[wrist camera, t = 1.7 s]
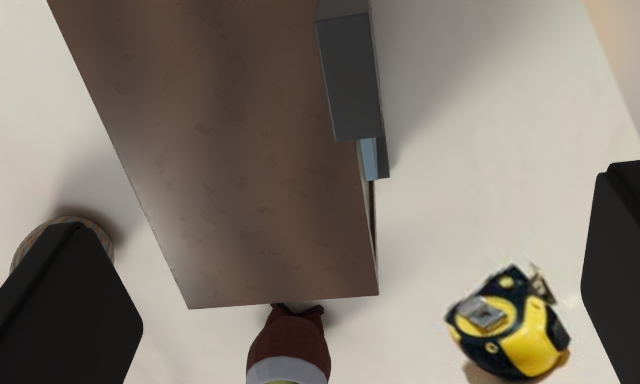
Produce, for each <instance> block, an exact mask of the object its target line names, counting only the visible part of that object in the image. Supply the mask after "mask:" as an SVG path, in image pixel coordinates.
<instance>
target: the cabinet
mask: <svg viewBox="0 0 640 384" xmlns="http://www.w3.org/2000/svg"><path fill="white" fill-rule="evenodd" d="M47 3H48V5H49V7H50V9H51V11H52V13H53V16H54V18H55V20H56V22H57V24H58V26H59V29H60V31H61V33H62V35H63V37H64V40H65V42H66V44H67V46H68V48H69V50H70V53H71V55H72V57H73V59H74V61H75V63H76V66H77V68H78V70H79V72H80V74H81V76H82V79H83V81H84V83H85V85H86V87H87V90H88V92H89V94H90V96H91V98H92V100H93V103H94V105H95V107H96V109H97V111H98V113H99V116H100V118H101V120H102V122H103V124H104V126H105V129H106V131H107V133H108V135H109V137H110V140H111V142H112V144H113V146H114V148H115V150H116V153H117V155H118V157H119V159H120V161H121V163H122V166H123V168H124V170H125V172H126V174H127V176H128V179H129V181H130V183H131V185H132V187H133V190H134V192H135V194H136V196H137V198H138V200H139V203H140V205H141V207H142V209H143V211H144V213H145V216H146V218H147V220H148V222H149V224H150V226H151V229H152V231H153V233H154V235H155V237H156V240H157V242H158V244H159V246H160V248H161V250H162V253H163V255H164V257H165V259H166V261H167V263H168V266H169V268H170V270H171V272H172V274H173V276H174V279H175V281H176V283H177V285H178V287H179V290H180V292H181V294H182V296H183V298H184V300H185V303H186V305H187V307H188V309H189V310H190V309H203V308H216V307H230V306H243V305H256V304H269V303H283V302H296V301H309V300H322V299H336V298H349V297H362V296H376V295H379V281H378V256H377V231H376V205H375V180H372V181H367V180H366V175H365V168H364V161H363V155H362V148H361V141H360V140H352V141H343V142H335V140H334V136H333V131H332V125H331V120H330V114H329V109H328V103H327V98H326V92H325V87H324V81H323V76H322V70H321V65H320V59H319V54H318V48H317V43H316V37H315V32H314V26H313V22H314V17H315V13H316V8H317V3H318V0H47ZM381 105H382V104H381ZM382 118H383V113H382ZM383 132H384V134H383V136H382V137H377V138H376V149H377V170H378V179H381V178H389V177H390V173H389V164H388V155H387V147H386V138H385V130H384V121H383Z"/></svg>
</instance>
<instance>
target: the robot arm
mask: <svg viewBox="0 0 640 384" xmlns="http://www.w3.org/2000/svg"><path fill="white" fill-rule="evenodd" d="M580 287H581V296H582V300H583V303H584V306H585V308H586V310H587V312H588V314H589V316H590V319H591V321H592V323H593V325H594V327H595V329H596V332H597V334H598V336H599V338H600V340H601V342H602V344H603V347H604V349H605V351H606V353H607V355H608V357H609V360H610V362H611V364H612V366H613V368H614V370H615V372H616V375H617V377H618V379H619V381H620V383H621V384H640V160H636V161H626V162H617V163H612V164H610V165H609V167H608V168H607V172H603V173H599V174H598V175H597V178H596V183H595V189H594V196H593V203H592V210H591V216H590V223H589V230H588V237H587V244H586V250H585V257H584V264H583V271H582V278H581V286H580ZM142 335H143V322H142V319H141V317H140V315H139V313H138V311H137V309H136V307H135V305H134V303H133V302H132V300H131V298H130V296H129V294H128V292H127V290H126V288H125V287H124V285H123V283H122V281H121V279H120V277H119V275H118V273H117V272H116V270H115V268H114V266H113V264H112V262H111V260H110V258H109V257H108V255H107V253H106V251H105V249H104V247H103V245H102V243H101V242H100V240H99V238H98V236H97V234H96V233H95V231H94V230H93V229H92V228H87V226H86V225H85V224H84V223H82V222H79V221H75V222H66V223H57V224H51V225H48V226H47V227H46V228H45V229H44V231H43V232H42V233H41V235H40V236H39V237H38V239H37V240H36V241H35V243H34V244H33V245H32V247H31V248H30V249H29V251H28V252H27V253H26V255H25V256H24V257H23V259H22V260H21V261H20V263H19V264H18V265H17V266H16V268H15V269H14V270H13V272H12V273H11V274H10V276H9V277H8V278H7V280H6V281H5V282H4V284H3V285H2V286H1V288H0V384H123V382H124V379H125V377H126V375H127V372H128V370H129V367H130V365H131V362H132V360H133V358H134V355H135V353H136V350H137V348H138V345H139V343H140V340H141V338H142Z"/></svg>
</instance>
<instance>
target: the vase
mask: <svg viewBox="0 0 640 384" xmlns="http://www.w3.org/2000/svg"><path fill="white" fill-rule="evenodd" d="M75 221H79V222H82V223H84V224H85V225H86V226H87V228H92V229H93V230H94V231H95V233H96V234H97V236H98V238H99V240H100V242H101V243H102V245H103V247H104V249H105V251H106V253H107V255H108V257H109V258H110V260H111V262H112V264H114V250H113V246H112V243H111V241H110V239H109V237H108V235H107V234H106V233H105V232H104V230H103V229H102V228H101V227H100V226H98V225H97V224H96V223H94V222H92V221H90V220H88V219H85V218H81V217H74V216H65V217H58V218H54V219H52V220H49V221H47V222H45V223H43V224H41V225H40V226H38V227H37V228H35V229H34V230H33V231H32V232H31V233H30V234H29V235H28V236H27V237H26V238H25V239H24V240H23V241H22V243H21V244H20V246H19V247H18V249H17V251H16V252H15V254H14V257H13V260H12V263H11V267H10V273H9V276H10V274H11V273H12V272H13V270H14V269H15V268H16V266H17V265H18V264H19V263H20V261H21V260H22V259H23V257H24V256H25V255H26V253H27V252H28V251H29V249H30V248H31V247H32V245H33V244H34V243H35V241H36V240H37V239H38V237H39V236H40V235H41V233H42V232H43V231H44V229H45V228H46V227H47V226H48V225H51V224H57V223H66V222H75Z"/></svg>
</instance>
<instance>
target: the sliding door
mask: <svg viewBox="0 0 640 384" xmlns="http://www.w3.org/2000/svg"><path fill="white" fill-rule="evenodd" d="M313 26H314V32H315V37H316V43H317V48H318V54H319V59H320V65H321V70H322V76H323V81H324V87H325V92H326V98H327V103H328V109H329V114H330V120H331V125H332V131H333V136H334V140H335V142H343V141H352V140H360V141H361V148H362V155H363V161H364V168H365V175H366V180H367V181H372V180H378V170H377V149H376V138H377V137H382V136H383V134H384V132H383V118H382V105H381V91H380V80H379V72H378V63H377V55H376V46H375V37H374V29H373V20H372V12H371V3H370V0H318V3H317V8H316V13H315V17H314V22H313Z"/></svg>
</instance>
